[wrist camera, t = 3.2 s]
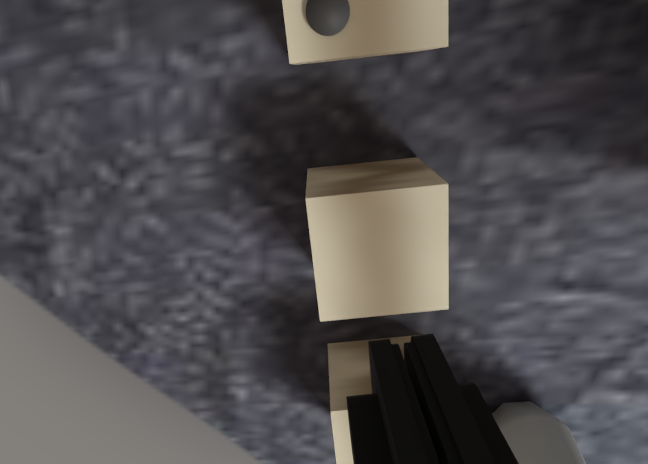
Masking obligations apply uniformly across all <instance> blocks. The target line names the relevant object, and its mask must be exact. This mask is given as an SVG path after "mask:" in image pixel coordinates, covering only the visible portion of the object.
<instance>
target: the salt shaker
mask: <svg viewBox="0 0 648 464" xmlns="http://www.w3.org/2000/svg"><path fill="white" fill-rule="evenodd" d="M492 415H493V417H494V419H495V421H496V423H497V424H498V426H499V428H500V430H501V432H502V434H503V435H504V437H505V439H506V441H507V443H508V445H509V447H510V448H511V450H512V452H513V454H514V456H515V458H516V459H517V461H518V463H519V464H586V462H585V460H584V458H583V456H582V454H581V452H580V450H579V447H578V445H577V443H576V441H575V439H574V437H573V435H572V433H571V431H570V429H569V428H568V427H567V425H566V424H565V423H564V422H562V421H560V420H559V419H557V418H555V417H554V416H552V415H551V414H549V413H547V412H546V411H544V410H543V409H541V408H540V407H538V406H536V405H535V404H533V403H532V402H530V401H526V402H511V403H503V404H502V405H500V406H499V407H498V408H497V409H496V410H495V411H494V412H493V413H492Z"/></svg>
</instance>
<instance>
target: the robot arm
mask: <svg viewBox="0 0 648 464" xmlns="http://www.w3.org/2000/svg"><path fill="white" fill-rule="evenodd" d="M368 347H369V361H370V374H371V387H372V394H364V395H355V396H346V399H347V410H348V419H349V429H350V438H351V446H352V454H353V462H354V464H519V463H518V461H517V459H516V458H515V456H514V454H513V452H512V450H511V448H510V447H509V445H508V443H507V441H506V439H505V437H504V435H503V434H502V432H501V430H500V428H499V426H498V424H497V423H496V421H495V419H494V417H493V415H492V413H491V412H490V410H489V408H488V406H487V404H486V402H485V401H484V399H483V397H482V395H481V393H480V391H479V390H478V388H477V386H476V385H475V384H474V383H463V384H457V382H456V380H455V378H454V376H453V374H452V372H451V370H450V367H449V365H448V363H447V361H446V359H445V357H444V355H443V353H442V351H441V349H440V347H439V345H438V343H437V341H436V339H435V337H434V335H433V334H427V335H418V336H411V342H406V343H404V358H403V355H402V352H401V349H400V347H399V344H398V343H397V344H391V342H390V339H381V340H372V341H368Z"/></svg>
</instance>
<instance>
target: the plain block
mask: <svg viewBox="0 0 648 464" xmlns="http://www.w3.org/2000/svg"><path fill="white" fill-rule="evenodd" d="M305 199H306V208H307V216H308V225H309V233H310V241H311V250H312V258H313V267H314V275H315V284H316V292H317V300H318V309H319V317H320V322H322V321H333V320H343V319H353V318H364V317H374V316H384V315H395V314H405V313H415V312H426V311H436V310H446V309H449V273H448V183H447V182H446V181H444V180H443V179H442V178H441V177H440V176H439V175H437V174H436V173H435V172H434V171H433V170H432V169H431V168H429V167H428V166H427V165H426V164H425V163H424V162H422V161H421V160H420V159H419V158H418V157H415V158H405V159H395V160H386V161H376V162H366V163H356V164H347V165H337V166H327V167H317V168H308V170H307V183H306V197H305Z"/></svg>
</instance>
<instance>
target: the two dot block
mask: <svg viewBox="0 0 648 464" xmlns="http://www.w3.org/2000/svg"><path fill="white" fill-rule="evenodd" d="M282 4H283V13H284V21H285V30H286V38H287V46H288V55H289V63H290V64H294V65H299V64H308V63H317V62H327V61H336V60H345V59H355V58H364V57H374V56H383V55H392V54H402V53H411V52H418V51H425V50H431V49H437V48H443V47H448V0H282Z"/></svg>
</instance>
